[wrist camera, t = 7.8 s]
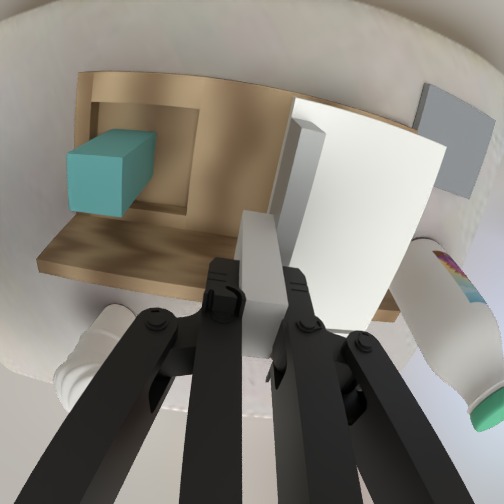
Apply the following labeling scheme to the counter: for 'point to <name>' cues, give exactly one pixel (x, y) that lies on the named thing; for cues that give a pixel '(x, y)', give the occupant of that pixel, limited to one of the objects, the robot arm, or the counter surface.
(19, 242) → the counter surface
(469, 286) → the milk bottle
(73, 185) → the block
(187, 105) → the brown piece
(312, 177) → the lid
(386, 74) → the counter surface
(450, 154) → the coaster
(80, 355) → the soft serve ice cream cone
